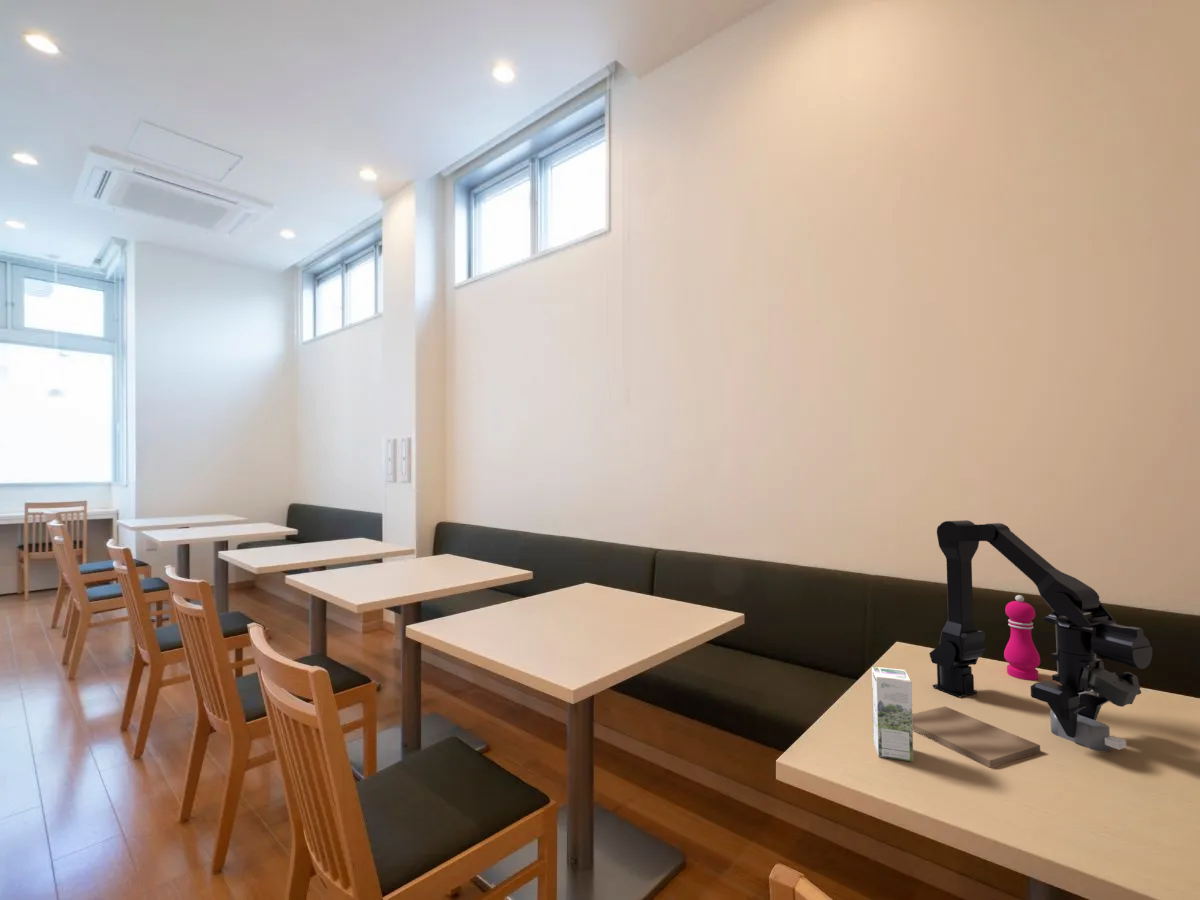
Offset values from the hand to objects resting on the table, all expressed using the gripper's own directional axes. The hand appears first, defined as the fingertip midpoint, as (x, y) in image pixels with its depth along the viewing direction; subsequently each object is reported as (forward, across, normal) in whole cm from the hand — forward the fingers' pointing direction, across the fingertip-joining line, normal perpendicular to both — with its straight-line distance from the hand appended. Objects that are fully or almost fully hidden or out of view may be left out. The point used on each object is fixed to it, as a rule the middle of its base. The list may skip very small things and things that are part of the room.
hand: (1079, 734), depth 103 cm
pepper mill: (+1, +26, +25) cm, 36 cm away
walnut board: (+1, -19, +9) cm, 21 cm away
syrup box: (+1, -37, +10) cm, 38 cm away
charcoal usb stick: (+1, 0, 0) cm, 1 cm away
